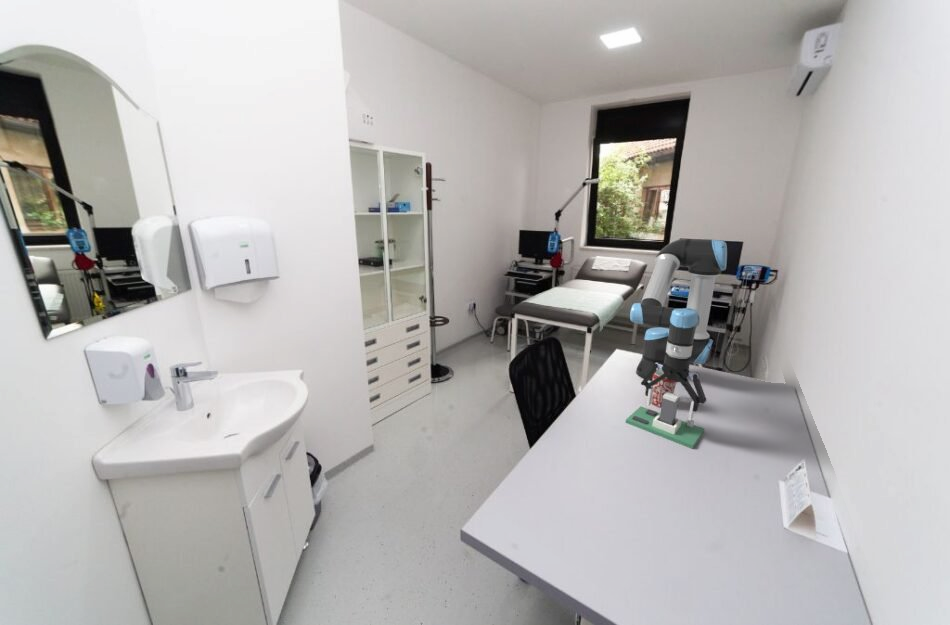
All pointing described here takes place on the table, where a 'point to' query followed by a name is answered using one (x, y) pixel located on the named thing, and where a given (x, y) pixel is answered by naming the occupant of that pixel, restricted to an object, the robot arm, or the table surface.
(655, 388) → the mug
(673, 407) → the plug
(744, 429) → the table surface
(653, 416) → the board
